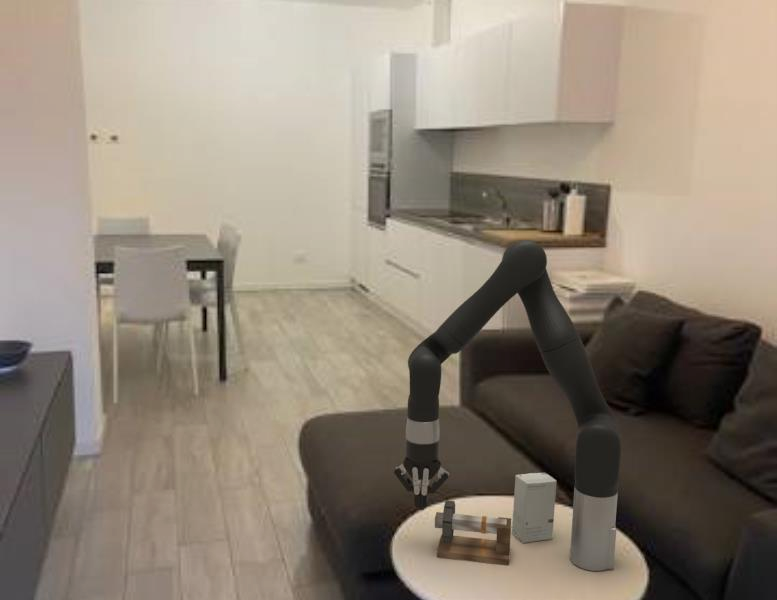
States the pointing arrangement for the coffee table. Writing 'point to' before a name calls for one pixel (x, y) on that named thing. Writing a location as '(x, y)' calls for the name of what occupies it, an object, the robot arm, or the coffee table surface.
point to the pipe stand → (477, 539)
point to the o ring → (448, 521)
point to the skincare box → (533, 507)
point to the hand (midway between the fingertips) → (420, 508)
